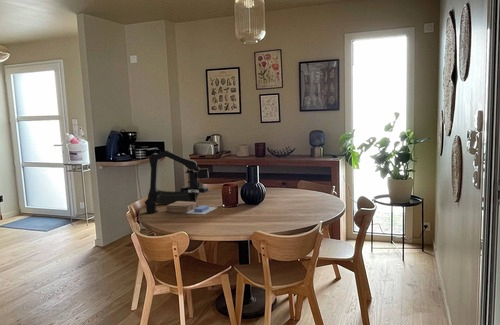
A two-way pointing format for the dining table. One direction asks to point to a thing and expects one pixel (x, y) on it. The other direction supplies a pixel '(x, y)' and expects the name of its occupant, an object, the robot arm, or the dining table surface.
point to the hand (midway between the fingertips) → (194, 202)
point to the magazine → (173, 197)
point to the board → (182, 206)
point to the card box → (201, 208)
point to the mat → (203, 211)
